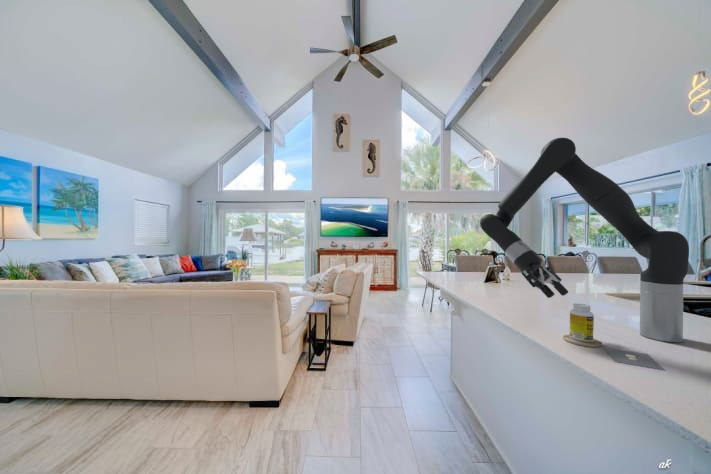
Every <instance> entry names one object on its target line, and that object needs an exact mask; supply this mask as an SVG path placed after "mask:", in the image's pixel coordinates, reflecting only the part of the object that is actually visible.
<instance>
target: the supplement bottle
mask: <svg viewBox="0 0 711 474" xmlns="http://www.w3.org/2000/svg"><path fill="white" fill-rule="evenodd" d="M572 308H573V309H570V311H569V335H570V337H571V338H573V339H575V340H578V341H583V342H591V341H593V338H594V327H595V326H594V323H595V321H594V318H595V316H594V313H593V312H592V311H591V305H589V304H587V303H586V304H585V303H573V307H572Z"/></svg>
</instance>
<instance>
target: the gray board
mask: <svg viewBox="0 0 711 474" xmlns="http://www.w3.org/2000/svg"><path fill="white" fill-rule="evenodd" d="M603 349H604V350H605V352H606V353H607V354H608V355H609V357H610V358H611V359H612V361H613V362H614V363H620V364H625V365H630V366H631V365H632V366H637V367H641V368H642V367H643V368H648V369H653V370H660V371H664V370H665V371H664V372H666V369H665V368H664V367H663V366H662V365H661V364H660V363H658V362H657V361H656V360H655V359H654V358H653V357H652V356H651V355H650V354H648V353H645V352H637V351H631V350H627V349H626V350H625V349H619V348H611V347H607V346H603Z"/></svg>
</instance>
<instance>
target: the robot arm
mask: <svg viewBox="0 0 711 474" xmlns="http://www.w3.org/2000/svg"><path fill="white" fill-rule="evenodd" d="M576 152H577V151H576V144H575V142H574V141H573V140H572V139H570V138H568V137H557V138H553V139H552V140H549V141H548V142H547V143H546V144H545V145H544V146H543V148H541V151H540V155H539V157H538V159H537V160H536V162H535V163H534V165H533V166H532V167H531V168H530V169H529V170H528V172H527V173H526V174H525V175H524V176H523V177H522V178H521V179H520V180H519V181H518V182H516V183H515V185H514V186H513V187H512V188H511V189H510V190H509V191H508V192H507V193H506V195H505V196H504V197H503V198H502V199H501V200H500V202H499V203H498V205H497V206H498V210H497V212H496V214H493V213H487V214H485V215H483V216H482V217H481V218H480V221H479V226H480V228H481V230H482V231H483V233H484V234H486V235H487V236H488V237H489V238H490V239H492V240H493V242H495V243H496V244H497V245H498V246H499V248H500V249H501V250H502V252H503V253H504V254H505V255H507V258H508V259H509V260H510V261H511V262H512V263H513V265H514V266H515V267H516V268H517V269H518V270H519V271H520V272H521V275H522V276H523V278H525V280H526V281H527V282H528V283H529V284H530V285H531V287H532V288H537V290H540V291H541V292H542V293H543V295H544V296H546V297H547V299H550V298H552V297H553V296H555V292H554V291H553V290H552V289H551V288H550V287H549V286H548V285H547V284H549V285H551V286H552V287H553V288H554V289H555V290H556V291H557V292H558V293H559V294H560V295H561V296H565V295H568V293H569V290H568V289H567V288H566V287H565V286H564V285H563V284H562V282H561V281H563V280H562V278H561V277H560V276H559V275H558V274H556V272H555V271H553V270H552V269H551V267H549V266H546V267H543V266H542V265H541V264H542V263H543V260H542V258H541V257H540V256H539V255H538V254H537V253H536V252H535V251H534V249H532V248H531V247H530V245H528V244H527V243H526V242H524V241H523V240H522V238H520V237H519V235H517V234H516V233H515V232H514V231H513V230H511V229H509V226H510V224H511V223H512V221H513V220H514V217H515V215H516V214H517V213H518V212H519V211H520V210H521V209H522V208H523V207H524V206H525V204H526V203H528V201H529V200H530V199H531V198H532V197H533V195H534V194H535V193H536V192H537V191H538V190H539V189H540V187H541V186H542V185H543V184H544V183H545V182H546V181H548V179H549V178H551V176H552V175H553V174H555V173H556V174H558V175H559V176H561V178H563V179H565V181H566V182H568V184H569V185H570V186H571V187H572V188H573V189H574V190H575V192H577V195H579V196H580V197H581V198H582V199H583V200H584V201H585V202H586V203H587V204H588V205H589V206H590V207H591V208H592V209H593V210H594V211H595V212H597V213H598V214H599V215H600V216H601V217H602V218H603V219H604V220H606V221H607V222H608V223H609V224H610V225H611V226H612V227H613V228H615V230H617V231H618V232H619V233H620V234H621V235H622V237H624V239H625V240H626V242H628V243H629V244H630V246H631V247H632V249H634V250H635V252H636V253H638V254H639V255H640V256H641V257H643V258H645V259H648V266H647V268H646V269H645V270H643V271H640V276H639V277H640V279H639V280H640V281H639V292H640V293H639V335H641V336H643V337H645V338H648V339H652V340H656V341H661V342H669V343H683V342H684V279H685V277H686V276H687V275H688V269H689V260H690V259H689V258H690V245H689V242H688V239H687V238H686V236H684V235H683V234H682V233H680V232H677V231H673V230H659V231H658V229H657V230H656V228H654V227H652V226H651V225H650V224H649V223H648V222H647V221H645V220H644V219H643V218H642V217H641V216H640V214H639V213H638V211H637V208H636V206H635V204H634V202H633V200H632V198H631V197H630V195H629V194H628V193H627V192H626V191H625V190H624V189H623V188H622V187H621V186H619V184H617V183H616V182H614V181H613V179H611V178H609V177H608V176H606V175H605V174H603V173H601V172H599V171H597V170H596V169H594V168H593V167H591V166H589V165H588V164H587V163H585V162H584V161H583V160H582V159H581V157H580V156H579V155H578V154H577V153H576Z"/></svg>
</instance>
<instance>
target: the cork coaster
mask: <svg viewBox="0 0 711 474" xmlns="http://www.w3.org/2000/svg"><path fill="white" fill-rule="evenodd" d="M562 339H563V341H565V342H567V343H570V344H573V345H577V346H579V347H585V348H601V347H603V342H602V341H601V340H598V339H596V338H594V337H593V341H591V342H583V341H578V340H575V339H573V338H571V337H570V334H564V335H562Z"/></svg>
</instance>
